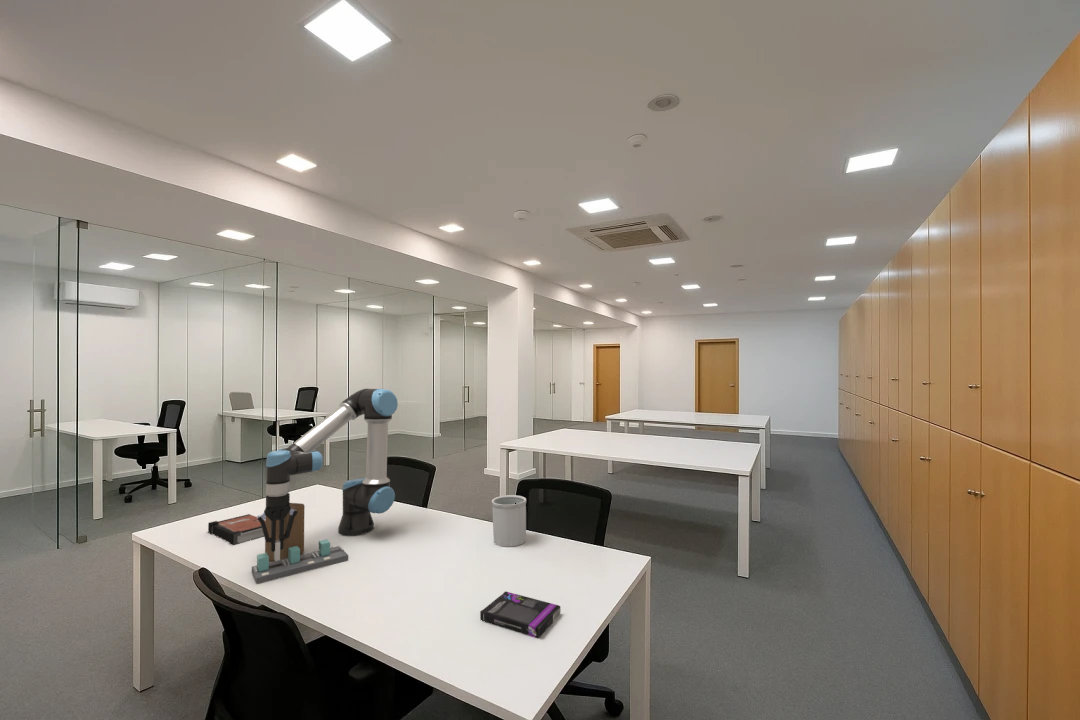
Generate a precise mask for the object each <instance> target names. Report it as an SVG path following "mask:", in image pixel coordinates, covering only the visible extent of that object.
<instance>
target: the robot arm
mask: <svg viewBox="0 0 1080 720" xmlns="http://www.w3.org/2000/svg"><path fill="white" fill-rule="evenodd" d="M398 403H399V402H398V398H397V395H395V394H394V392H393V391H391V390H390V389H386V388H363V389H360V390H358V391H355V392H354V393H353V394H351V395H350V396H348V397H347V398H346V399H344V400H343V401H342V402H340V403H339V406H338V407H337V408H336V409H335V410H334V411H332V413H330V414H329V415H327V416H326V417H324V418H323V419H322V420H321V421H319V423H318V424H317V423H316V424H315V426H313V427H312V428H311V429H309V430H308V431H307V432H305V433H304V434H303V435H302V436H300V438H298V439H297V440H295V441H294V442H293V443H291V444H290V445H289V446H288V447H286V448H279V449H278V450H274V451H269V452H267V453H268V454H267V455H266V461H265V462H266V464H265V467H266V468H265V469H266V470H265V471H266V472H265V473H266V477H265V478H266V479H265V480H266V481H265V482H266V483H265V484H266V485H265V487H266V488H265V495H266V496H265V509H264V511H263V513H261V514H260V515H257V516H256V517H257V519H258V520H259V522H260V523H261V527H262V530H263V534H264V537H263V538H264V541H265V540H266V542H271V551H272V552H274V560H275V561H278V560H280V550H282V549H283V541H284V540H285V539H286V538H289V536H290V532H291V528H292V525H293V521H294V517H295V516H296V514H297V513H298V512H297V510H296V509H291V506H290V503H291V502H290V497H291V496H290V495H291V494H290V493H289V492H291V491H290V490H291V476H295V475H300V474H305V473H306V474H307V473H313V472H316V471H320V470H321V468H322V467H323V463H324V462H323V461H324V460H323V456H322V455H323V454H322V453H321V452H320V451H315V450H316V449H317V448H318V447H320V446H321V444H323V443H324V442H326V441H327V440H328V439H330V437H332V436H333V435H334V434H335V433H336V432H338V431H339V430H340V429H341V428H343V426H345V425H347V424H348V423H349V422H350V421H355V420H356V419H357V418H358V417H361V416H362V415H363V416H364V417H363V420H364V421H365V422H366V423H367V433H366V434H367V437H366V465H365V468H366V469H365V477H360V478H353V479H349V480H346V481H344V482H343V484H342V516H341V519H340V522H339V524H338V528H337V529H338V531H337V533H338V534H339V535H341V536H347V537H351V536H353V537H354V536H360V535H364V534H365V535H366V534H367V533H371V532H372V531H373V530H374V529H375V522H374V519H373V516H372V514H378V515H379V514H384V513H385V512H388V510H390V508H391V507H392V506H393V504H394V503H395V498H396V494H395V491H394V489H393V487H390V486H391V479H390V478H389V477H388V476H387V475H388V474H387V471H388V470H387V469H388V441H389V440H388V436H389V423H390V422H391V421H392V419H393V417H392V416H393V414H394V415H395V413H396V411H397V409H398V405H399V404H398ZM289 511H290V513H289ZM288 513H289V514H290V516H289V520H288V523H287V527H286V531H285V534H284V518H285V517H286V516H287V514H288ZM265 516H267V517H268V518H269V519H270V520H271V538H269V535H268V531H267V527H266V524H265V521H264V520H265ZM276 520H279V540H276Z"/></svg>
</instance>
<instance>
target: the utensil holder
mask: <svg viewBox="0 0 1080 720" xmlns="http://www.w3.org/2000/svg"><path fill="white" fill-rule="evenodd" d="M515 503H516V504H515ZM526 505H527V498H526V497H524V496H522V495H515V494H507V495H500V496H497V497H495V498H492V500H491V506H492V529H493V530H492V533H493V544H495V545H496V546H500V547H504V548H505V547H507V548H508V547H518V546H521V545H523V544H524V543H526V541H527V507H526Z"/></svg>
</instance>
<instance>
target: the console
mask: <svg viewBox="0 0 1080 720" xmlns="http://www.w3.org/2000/svg"><path fill="white" fill-rule="evenodd" d="M347 561H349V554H348V553H347V552H346V551H345V549H344V548H343V547H342V546H341V545H337V546H333V547H332V546H331V547H330V554H329V555H325V556H321V555H320V554H319V550H317V551H316V550H315V551H312V552H308V553H303V554H301V555H300V562H297V563H293V564H291V563H290V562H289V560H288V558H286V559H281V560H278V561H273V562H272V561H269V569H268V570H264V571H260V572H259V571H258V569H257V564H256V565H252V566H251V574H252V577H253V579H254V581H255V583H256V585H258V584H262V583H266V582H269V581H274V580H278V579H281V578H285V577H289V576H293V575H297V574H301V573H304V572H308V571H311V570H313V571H314V570H316V569H320V568H324V567H328V566H331V565H335V564H339V563H342V562H347Z"/></svg>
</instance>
